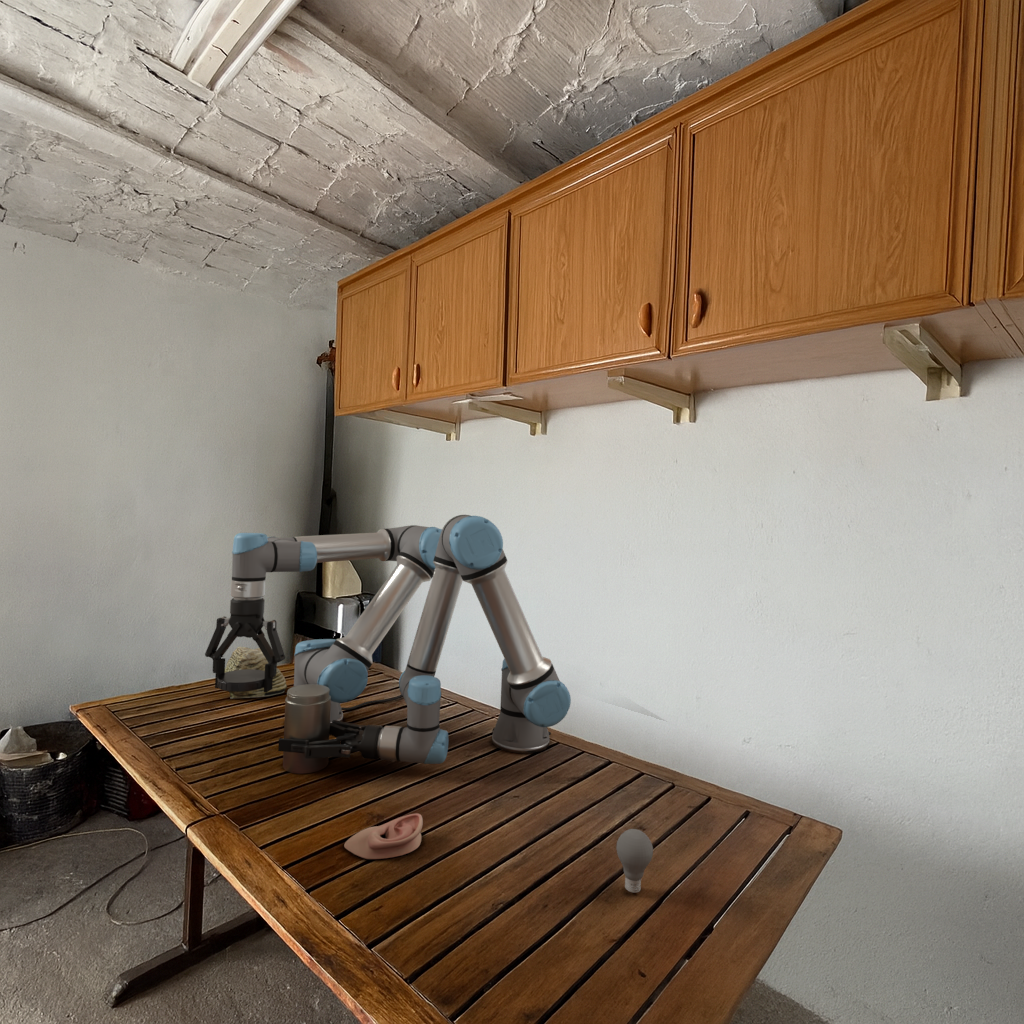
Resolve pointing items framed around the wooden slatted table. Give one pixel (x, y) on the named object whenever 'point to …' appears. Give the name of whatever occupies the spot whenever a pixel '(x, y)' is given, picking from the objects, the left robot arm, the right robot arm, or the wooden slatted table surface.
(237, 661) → the fossil
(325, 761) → the jar
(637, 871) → the light bulb
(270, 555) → the left robot arm
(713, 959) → the wooden slatted table surface
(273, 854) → the wooden slatted table surface
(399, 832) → the anatomical model
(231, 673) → the lid
